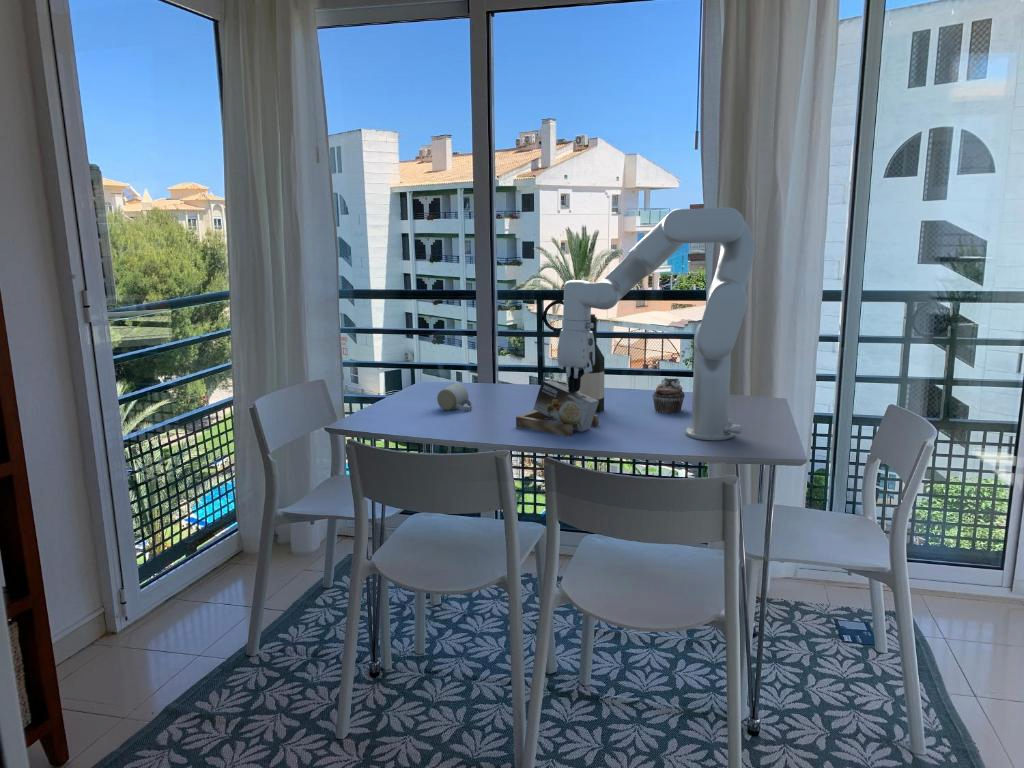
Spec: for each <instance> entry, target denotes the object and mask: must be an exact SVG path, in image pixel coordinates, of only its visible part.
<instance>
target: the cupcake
mask: <svg viewBox="0 0 1024 768" xmlns="http://www.w3.org/2000/svg"><path fill="white" fill-rule="evenodd" d="M680 382H681V381H680V379H679V378H667V377H664V378H662V379H661V383H659V384H658V385H657V387H656V388H655V391H654V393H653V394H652V399H653V406H654V409H655V410H656V411H658V412H657V413H659V412H662V413H661V414H665V413H674V414H678V413H677V412H679V413H681V412H680V411H682V408H683V404H684V403H683V402H684V400H685V393H684V391H683V387H682V385H680V384H681V383H680ZM656 411H655V412H656Z"/></svg>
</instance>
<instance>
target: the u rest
mask: <svg viewBox="0 0 1024 768" xmlns="http://www.w3.org/2000/svg"><path fill="white" fill-rule="evenodd" d="M599 417H600V415H598V414H595V415H594V418H593V421H592V423H591V426H590V427H597V426H599V425H600V418H599ZM546 419H552V421H551V420H546ZM553 420H554V419H553V418H551V417H549V416H547V415H545V414H542V413H540V412H538V411H536V410H532V411H530V412H526V413H524V414H520V415H518V416H515V427H516V428H519V427H520V429H525V428H526V430H530V429H531V430H530V431H535V430H536V431H537V432H540V433H546V432H547V434H552V435H558V436H562V435H563V437H567V436H570V437H573V428H572V425H569V424H564V423H561V422H559V421H553Z"/></svg>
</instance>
